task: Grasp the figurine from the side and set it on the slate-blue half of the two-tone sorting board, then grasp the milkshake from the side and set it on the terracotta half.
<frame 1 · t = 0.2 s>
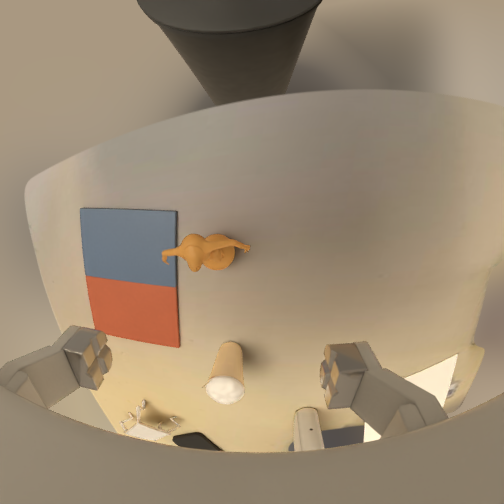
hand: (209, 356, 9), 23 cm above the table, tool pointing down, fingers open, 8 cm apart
figurine: (217, 238, 32), on the table
photo printer: (304, 422, 41), on the table
milkshake: (228, 347, 37), on the table
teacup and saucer: (409, 405, 41), on the table
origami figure: (147, 412, 42), on the table
sorting board: (128, 279, 34), on the table
phone: (206, 451, 45), on the table
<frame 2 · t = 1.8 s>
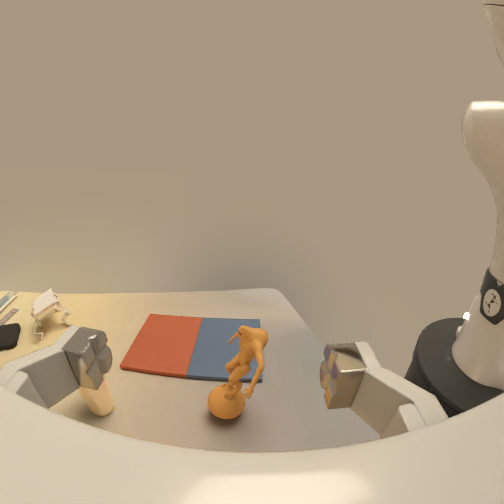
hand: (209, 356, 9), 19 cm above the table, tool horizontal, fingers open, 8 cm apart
figurine: (236, 412, 27), on the table
milkshake: (105, 406, 25), on the table
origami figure: (54, 322, 39), on the table
sorting board: (195, 345, 38), on the table
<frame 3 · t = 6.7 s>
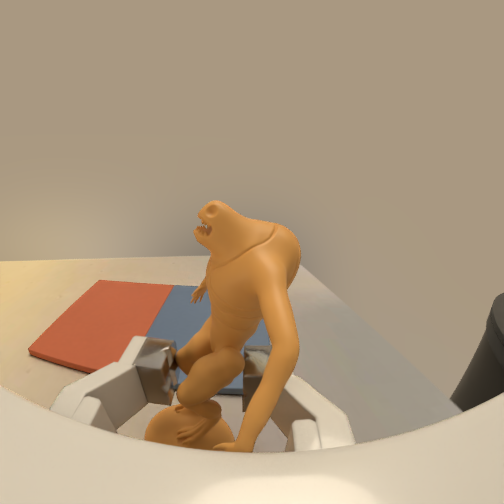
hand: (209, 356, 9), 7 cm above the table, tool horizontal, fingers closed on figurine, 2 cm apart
figurine: (216, 462, 10), on the table, touching gripper
sorting board: (155, 325, 22), on the table
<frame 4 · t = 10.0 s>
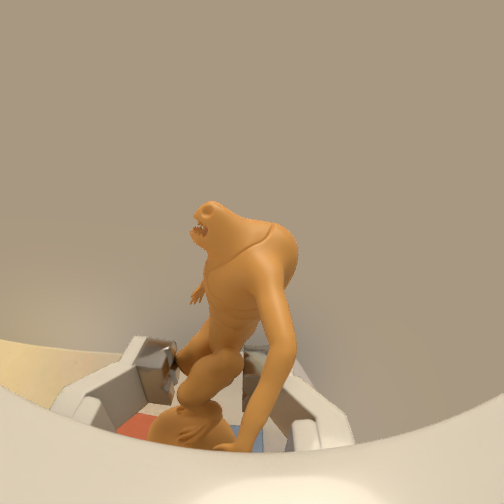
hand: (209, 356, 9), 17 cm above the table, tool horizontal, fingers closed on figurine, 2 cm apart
figurine: (219, 463, 10), point 10 cm above the table, touching gripper
sorting board: (150, 477, 16), on the table
when the fingers open (7 cm above the table, at t = 13.5 s): figurine stays where it is, resting on sorting board.
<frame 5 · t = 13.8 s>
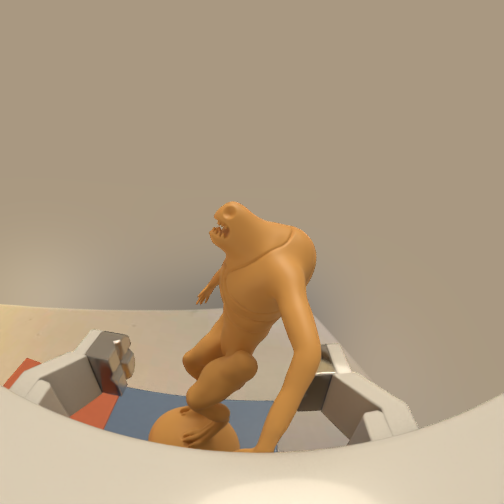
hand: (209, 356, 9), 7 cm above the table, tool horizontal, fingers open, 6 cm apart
figurine: (219, 464, 10), resting on sorting board
sorting board: (89, 475, 8), on the table
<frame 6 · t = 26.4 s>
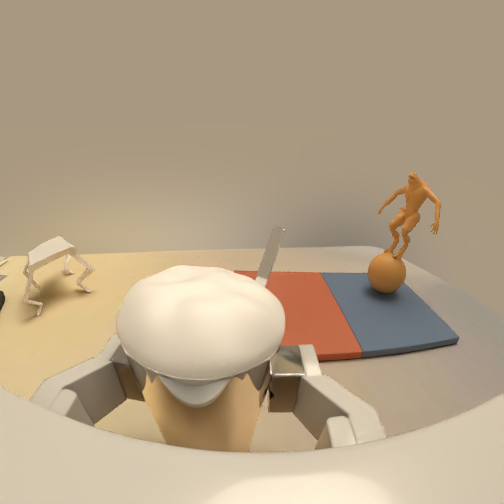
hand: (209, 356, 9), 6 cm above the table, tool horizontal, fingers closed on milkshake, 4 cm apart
figurine: (389, 291, 25), resting on sorting board
milkshake: (218, 453, 10), on the table, touching gripper
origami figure: (63, 289, 24), on the table
sorting board: (336, 308, 23), on the table
when the fingers open (6 cm above the table, at t = 33.3 s): milkshake stays where it is, resting on sorting board.
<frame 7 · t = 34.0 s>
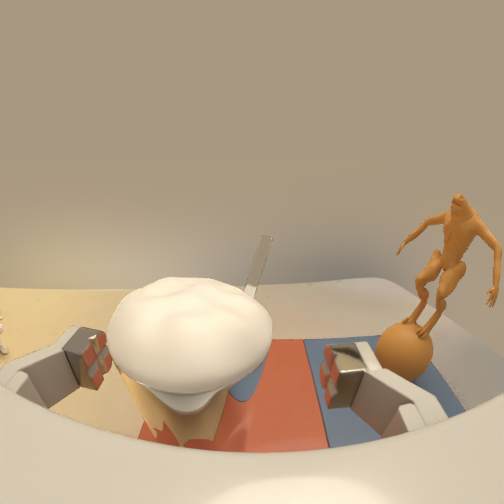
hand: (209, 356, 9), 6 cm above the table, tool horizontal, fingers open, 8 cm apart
figurine: (403, 373, 15), resting on sorting board
milkshake: (215, 458, 10), resting on sorting board
sorting board: (318, 415, 13), on the table
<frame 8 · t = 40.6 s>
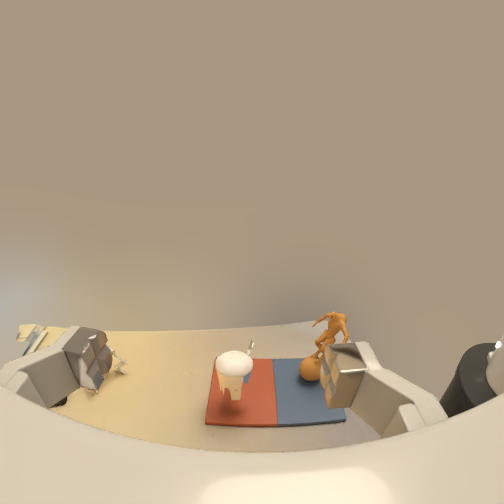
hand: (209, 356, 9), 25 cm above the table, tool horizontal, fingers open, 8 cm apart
figurine: (315, 376, 39), resting on sorting board
milkshake: (237, 403, 34), resting on sorting board
sorting board: (274, 390, 37), on the table
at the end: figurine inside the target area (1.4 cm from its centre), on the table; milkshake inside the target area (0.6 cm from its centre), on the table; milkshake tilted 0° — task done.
